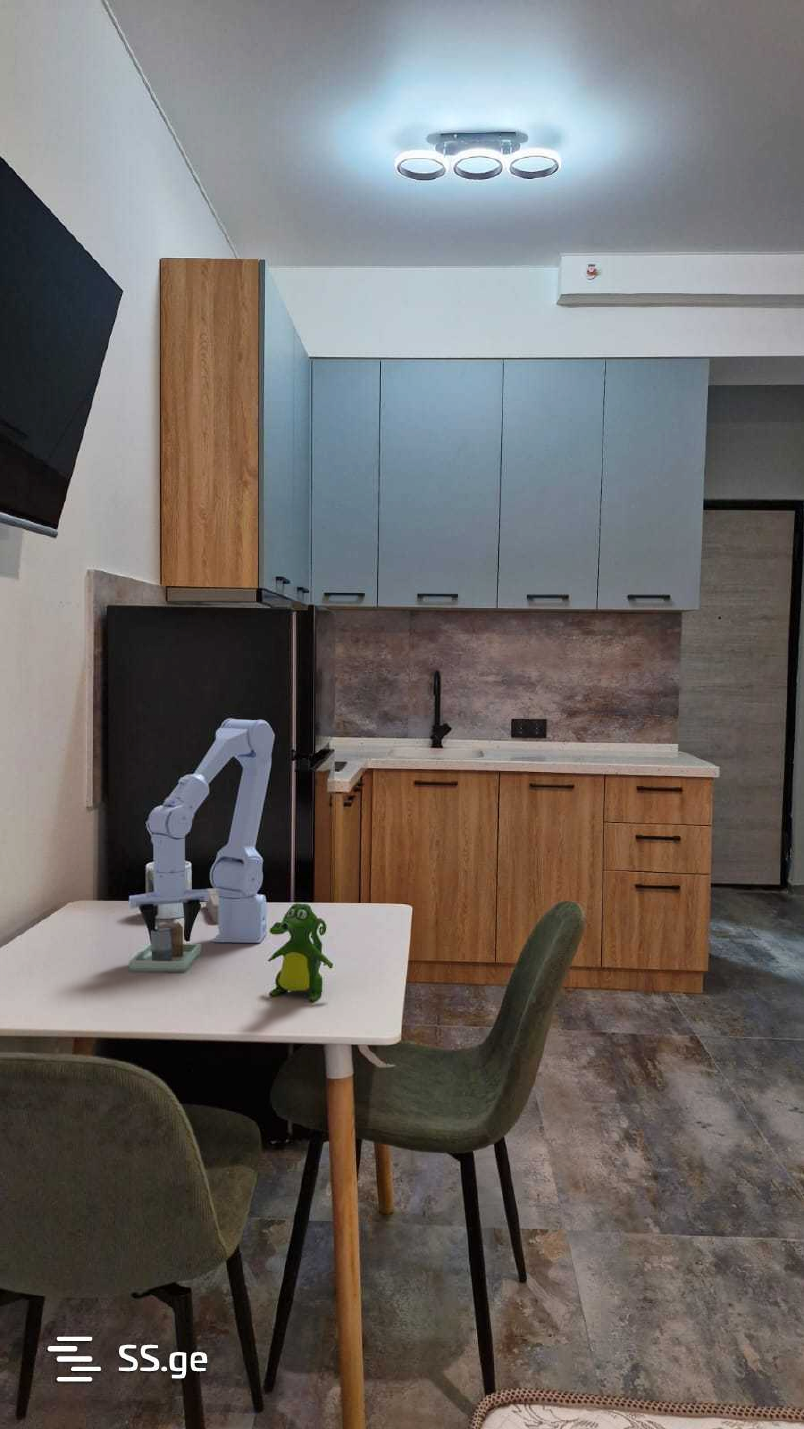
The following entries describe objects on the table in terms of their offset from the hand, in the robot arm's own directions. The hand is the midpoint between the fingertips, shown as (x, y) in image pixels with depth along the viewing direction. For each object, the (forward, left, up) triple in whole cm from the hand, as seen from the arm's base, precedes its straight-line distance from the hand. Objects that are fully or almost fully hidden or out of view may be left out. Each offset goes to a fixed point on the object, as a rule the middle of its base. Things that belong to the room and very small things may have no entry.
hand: (170, 942), depth 189 cm
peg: (0, +5, -2) cm, 6 cm away
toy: (-28, +19, -3) cm, 33 cm away
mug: (+10, -32, -3) cm, 34 cm away
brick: (-3, -35, -4) cm, 35 cm away
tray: (0, +3, -3) cm, 4 cm away
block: (0, 0, -2) cm, 2 cm away
